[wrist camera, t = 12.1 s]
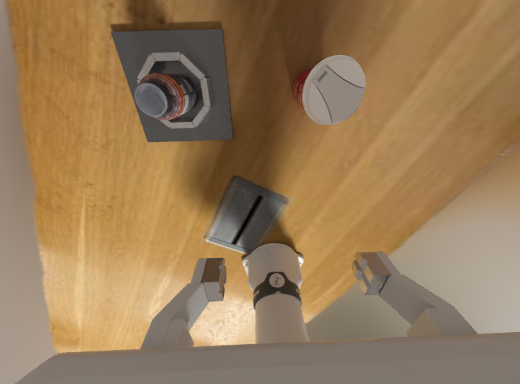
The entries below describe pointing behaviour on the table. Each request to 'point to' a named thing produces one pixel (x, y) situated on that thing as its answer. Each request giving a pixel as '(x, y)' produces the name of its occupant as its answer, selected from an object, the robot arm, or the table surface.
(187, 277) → the table surface
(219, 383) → the robot arm
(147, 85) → the supplement bottle
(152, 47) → the ring collar
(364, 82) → the paper cup
